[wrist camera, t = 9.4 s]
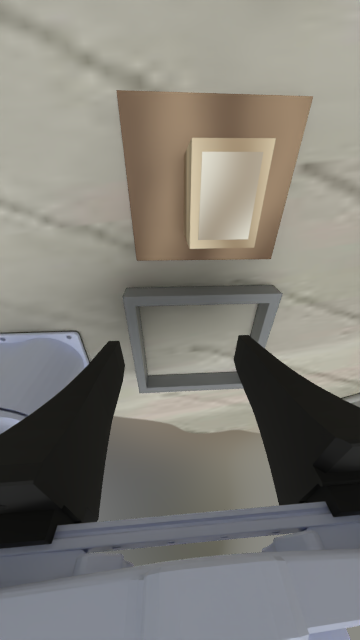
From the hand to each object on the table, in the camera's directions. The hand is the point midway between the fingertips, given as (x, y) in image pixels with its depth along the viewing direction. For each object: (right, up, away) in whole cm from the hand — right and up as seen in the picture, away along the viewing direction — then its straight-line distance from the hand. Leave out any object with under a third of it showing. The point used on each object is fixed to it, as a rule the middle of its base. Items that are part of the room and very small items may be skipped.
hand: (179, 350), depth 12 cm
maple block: (+2, +11, +3) cm, 12 cm away
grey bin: (+2, -1, +12) cm, 12 cm away
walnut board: (+2, +12, +3) cm, 13 cm away
